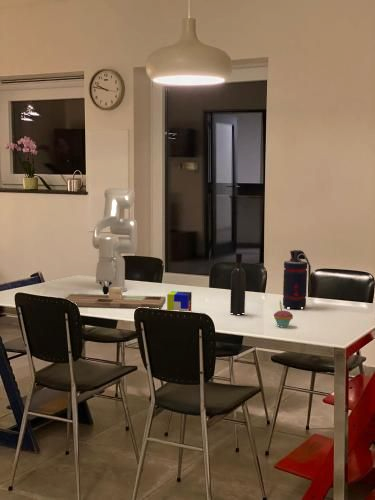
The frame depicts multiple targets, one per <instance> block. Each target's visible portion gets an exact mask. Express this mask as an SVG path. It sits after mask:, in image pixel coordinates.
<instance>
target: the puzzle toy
mask: <svg viewBox="0 0 375 500" xmlns="http://www.w3.org/2000/svg"><path fill="white" fill-rule="evenodd" d="M166 295H167V296H166V297H167V298H166V299H167V301H166V307H167V308H166V311H167V310H179V311H191V312H192V291H178V290H177V291H173V290H171V291H170V292H168V294H166Z"/></svg>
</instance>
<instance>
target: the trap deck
mask: <svg viewBox="0 0 375 500" xmlns="http://www.w3.org/2000/svg"><path fill="white" fill-rule="evenodd" d="M166 297H167V296H161V295H160V296H157V295H156V296H154V295H123V294H122V297H121V298H120V299H117V298H109V294H107V295H106V294H91V293H90V294H86V293H83V294H82V293H80V294H79V293H70V294H68V295H67V296H65V297H64V298H65V299H69V300H70V301H72V302H74V303H76V304H77V306H78V307H77V308H94V309H95V308H97V309H98V308H99V309H101V308H103V309H128V310H129V309H133V310H134V309H135V310H137V309H136V308H138V307H149V308H159V309H158V310H162V309H163V307H164V305H165V303H166V302H167V301H166V299H167V298H166Z"/></svg>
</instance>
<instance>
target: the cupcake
mask: <svg viewBox="0 0 375 500" xmlns="http://www.w3.org/2000/svg"><path fill="white" fill-rule="evenodd" d="M282 306H283V305H282V301H281V300H279V309H280V310H278V311H276V312H275V313H274V314H273V317H274V319H275V322H276V324H277V326H278V325H279V326H288V327H289V324H290V322H291V320H293V318H294V316H293V315H294V314H292V312H290V311H288V310H283V307H282ZM279 326H278V327H279Z"/></svg>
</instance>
